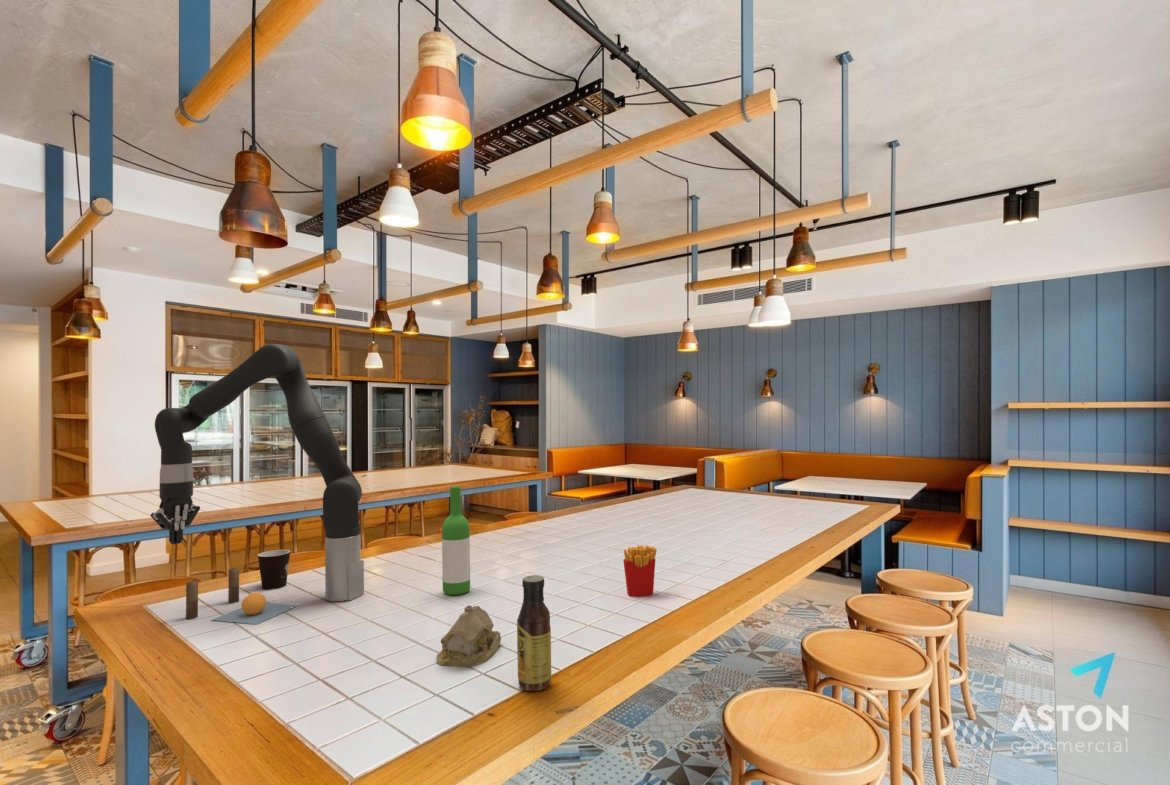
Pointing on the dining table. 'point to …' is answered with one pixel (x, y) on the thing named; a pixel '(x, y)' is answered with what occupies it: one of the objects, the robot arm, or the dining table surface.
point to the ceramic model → (469, 639)
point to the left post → (191, 599)
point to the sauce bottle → (534, 637)
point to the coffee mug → (274, 568)
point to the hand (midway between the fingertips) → (176, 543)
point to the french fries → (639, 570)
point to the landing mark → (265, 614)
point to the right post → (233, 585)
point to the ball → (253, 603)
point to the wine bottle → (455, 548)
